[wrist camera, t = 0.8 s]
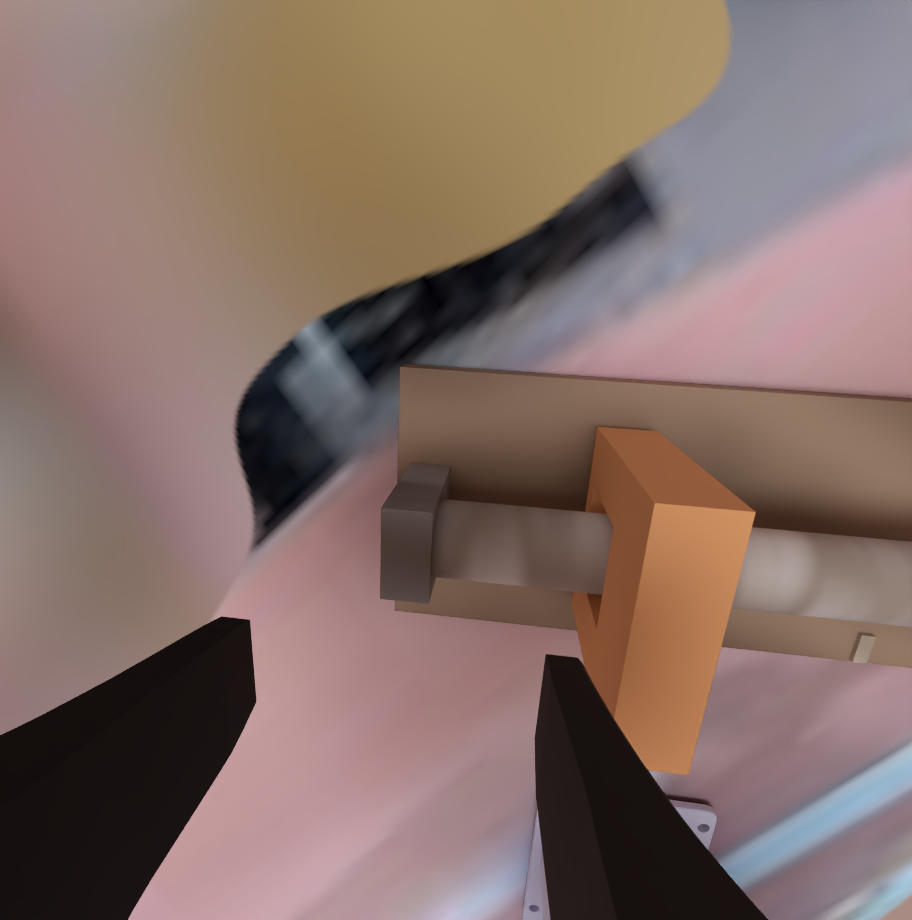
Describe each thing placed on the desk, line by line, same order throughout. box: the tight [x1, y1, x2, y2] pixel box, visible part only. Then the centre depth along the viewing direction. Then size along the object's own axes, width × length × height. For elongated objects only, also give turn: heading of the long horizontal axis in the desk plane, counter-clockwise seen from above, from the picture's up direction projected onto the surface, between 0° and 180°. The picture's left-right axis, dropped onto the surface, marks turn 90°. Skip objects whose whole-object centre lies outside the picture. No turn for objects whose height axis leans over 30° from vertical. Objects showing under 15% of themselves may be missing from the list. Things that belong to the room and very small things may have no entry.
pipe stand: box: [380, 364, 912, 668], centre depth 16 cm, size 10×26×6 cm, turn 87°
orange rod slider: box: [572, 427, 756, 775], centre depth 14 cm, size 7×2×7 cm, turn 177°
